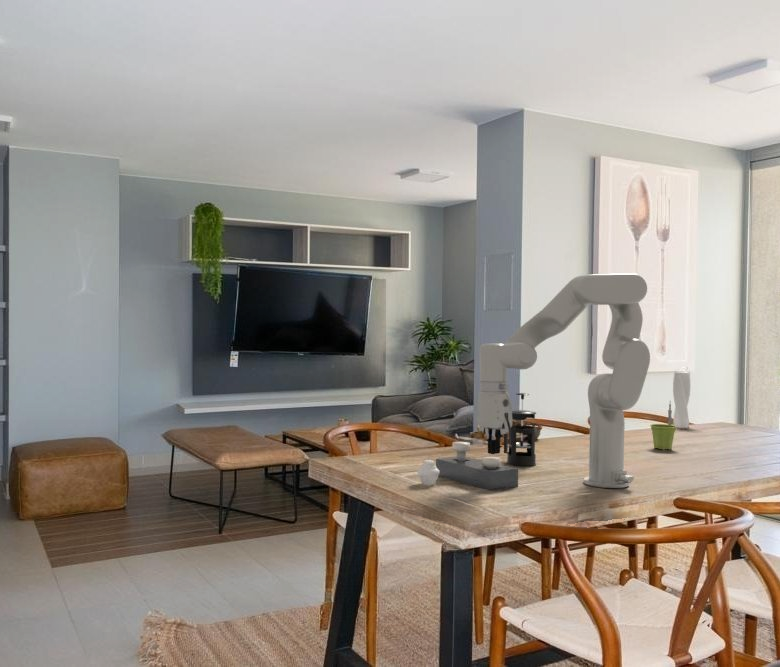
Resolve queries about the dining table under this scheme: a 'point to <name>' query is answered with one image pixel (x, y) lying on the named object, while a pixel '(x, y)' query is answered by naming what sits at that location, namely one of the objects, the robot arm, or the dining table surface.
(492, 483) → the mount
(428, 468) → the white ribbed round lump
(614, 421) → the robot arm
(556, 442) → the dining table surface
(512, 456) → the french press
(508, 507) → the dining table surface
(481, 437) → the food tray
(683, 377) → the skyscraper
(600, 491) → the dining table surface
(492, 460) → the knob
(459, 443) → the knob
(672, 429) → the plant pot
